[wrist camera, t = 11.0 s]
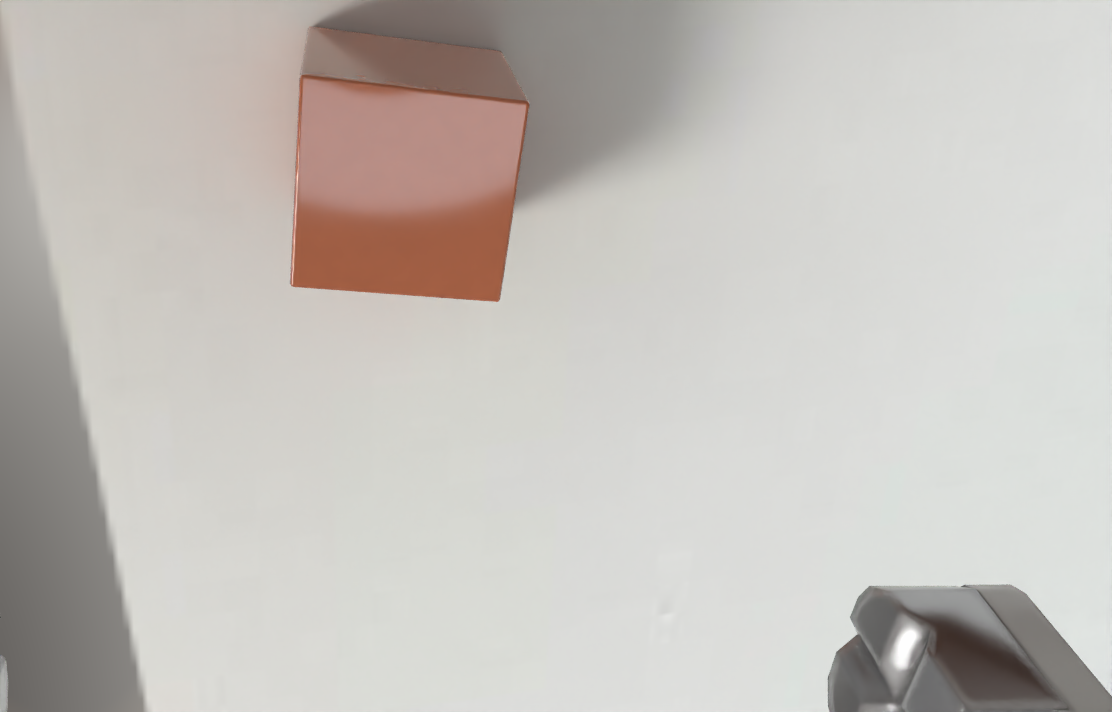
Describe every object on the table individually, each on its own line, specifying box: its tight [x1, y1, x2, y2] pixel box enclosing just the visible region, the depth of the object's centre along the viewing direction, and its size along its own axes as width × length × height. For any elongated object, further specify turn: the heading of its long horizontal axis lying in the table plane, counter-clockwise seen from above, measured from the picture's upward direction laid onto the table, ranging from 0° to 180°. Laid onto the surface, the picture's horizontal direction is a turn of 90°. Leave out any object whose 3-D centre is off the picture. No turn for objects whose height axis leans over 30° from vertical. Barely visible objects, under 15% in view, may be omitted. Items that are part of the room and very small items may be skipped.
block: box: [290, 27, 530, 302], centre depth 20 cm, size 4×4×4 cm
